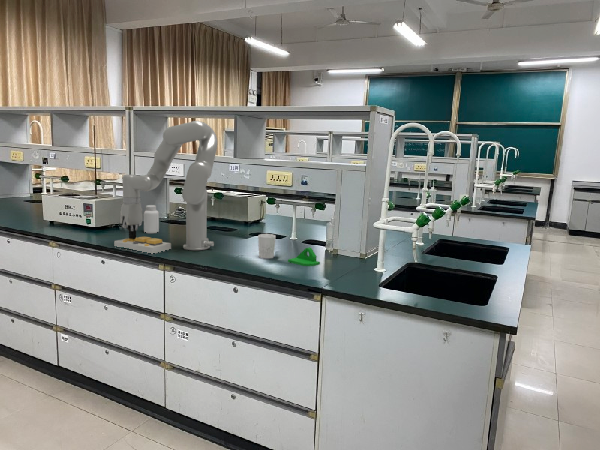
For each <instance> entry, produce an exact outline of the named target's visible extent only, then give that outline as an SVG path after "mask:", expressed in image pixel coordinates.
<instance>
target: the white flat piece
mask: <svg viewBox="0 0 600 450" xmlns="http://www.w3.org/2000/svg"><path fill="white" fill-rule="evenodd" d="M136 238H138V237H137V236H136ZM125 239H126V238H124V239H122V238H121V239H117V240H113V241H114V243H113V245H114V246H117V247H124V248H129V249H133V250H137V251H142V252H141V253H143V252H147V253H146V254H148V253H151V254H150V255H154V254H153V253H155V254H159V253H162V252H161V251H163V252H166V251H165V250H167V251H169V249H171V250H172V243H171V242H165V241H162V244H160V245H156V246H153V245H149V244H146V243H145V244H141V243H138V242H135V241H134V242H130V241H127V240H125ZM137 251H136V252H137ZM158 252H159V253H158Z"/></svg>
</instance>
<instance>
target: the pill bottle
mask: <svg viewBox="0 0 600 450" xmlns="http://www.w3.org/2000/svg"><path fill="white" fill-rule="evenodd" d="M159 216H160V213H159V211H158V210H157V205H154V204H149V205H147V204H146V205H145V210H144V212H143V232H144V233H145V232H146V233H145V234H157V232H158V233H159V231H160V230H159V229H160V222H159V221H160V220H159V219H160V217H159Z"/></svg>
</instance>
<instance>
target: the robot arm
mask: <svg viewBox="0 0 600 450" xmlns="http://www.w3.org/2000/svg"><path fill="white" fill-rule="evenodd" d="M162 138H163V139H162V140H161V141H160V144H159V146H158V147H157V149H156V150H155V151H154V155H153V156H154V161H153V163H152V165H151V167H150V169H149V171H148V172H147V173H146V174H144V175H143V174H142V175H137V174H124V175H123V176H122V179H121V180H122V204H121V207H120V212H119V213H120V217H119V220H120V222H119V223H120V225H122V228H124V229H126V230H127V231H128V238H129V239H135V238H136V237H137V231H138V228H139V227H140V226H142V224H143V221H144V215H143V207H142V203H141V200H142V199H141V192H149V191H152V190H155V189H156V188H158V187H159V185H160V184H161V182H162V181H163V179H164V178H165V176H166V174H167V172H168V170H169V168H170V166H171V164H172V163H173V161H174V159H175V157H176V156H177V154H178V152H179V151H180V150H181V148H182V147H183V145H184V144H188V143H191V142H196V141H198V142H199V143H198V148H197V150H196V151H197V152H196V156H195V160H194V162H193V163H191V164H190V165H189V167H188V169H187V171H186V176H185V180H184V184H183V188H182V193H181V194H182V199H183V201H184V202H185V203H186V209H185V210H186V211H185V212H186V213H185V221H186V222H185V223H186V224H185V226H186V227H185V231H186V237H185V238H186V241H185V244H183V245H182V248H183V249H184V250H186V251H188V250H189V251H205V250H209V249H210V248H211V247H214V245H215V242H214V241H211V240H209V238H208V237H207V231H208V230H207V226H208V225H207V221H208V220H207V219H208V218H207V216H208V214H207V213H208V211H207V210H208V209H207V208H208V207H207V206H208V190H207V183H208V179H209V178H210V177H211V175H212V173H213V167H214V163H215V159H216V154H217V149H218V137H217V135H216V132H215V130H214V129H213V128H212V127H211V126H210V125H208V123H206V122H203V121H200V120H192V121H189V122H185V123H181V124H177V125H172V126H169V127H167V128H165V130H164V131H163V133H162Z"/></svg>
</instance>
